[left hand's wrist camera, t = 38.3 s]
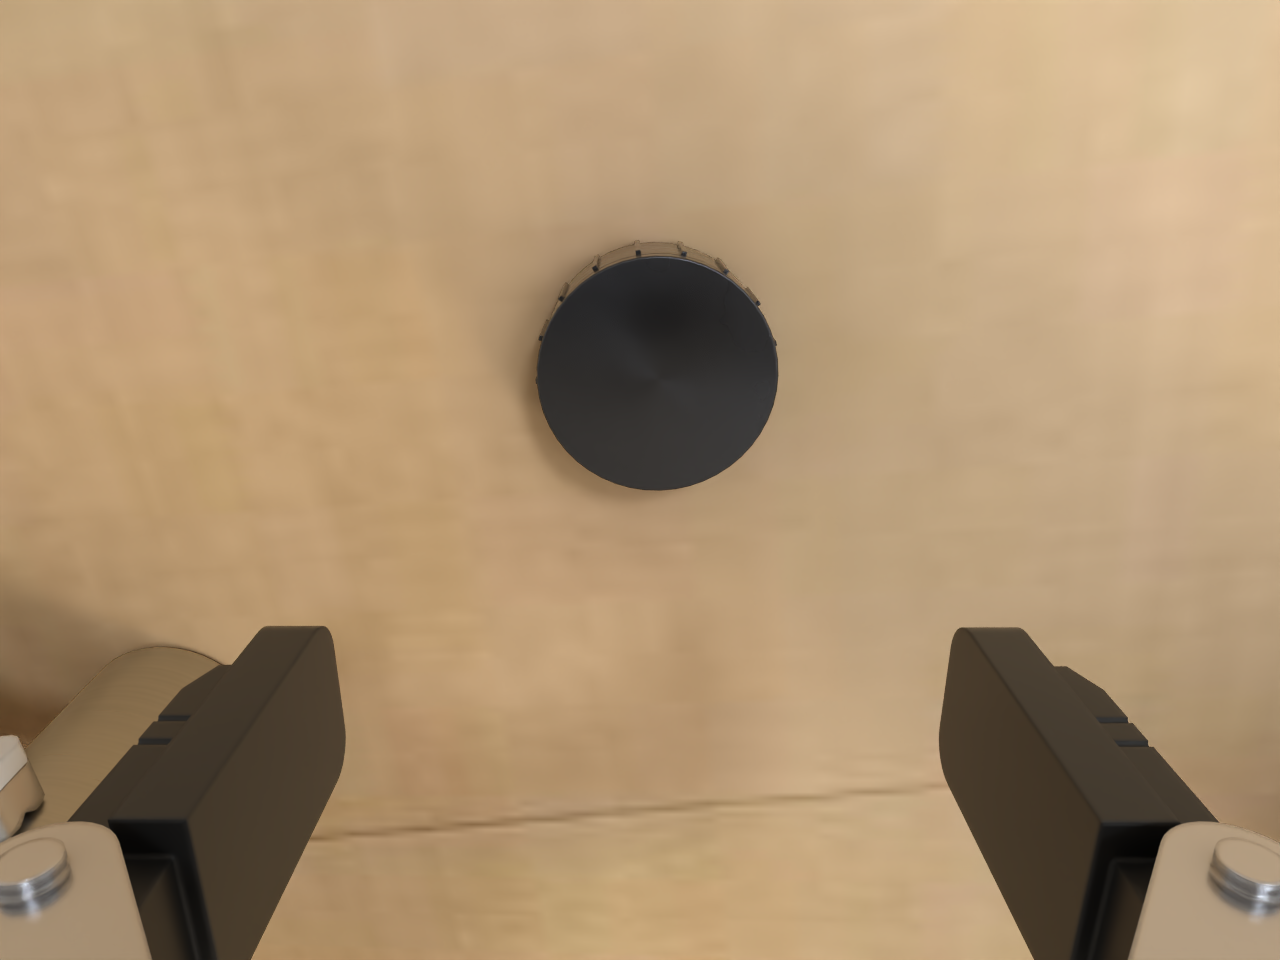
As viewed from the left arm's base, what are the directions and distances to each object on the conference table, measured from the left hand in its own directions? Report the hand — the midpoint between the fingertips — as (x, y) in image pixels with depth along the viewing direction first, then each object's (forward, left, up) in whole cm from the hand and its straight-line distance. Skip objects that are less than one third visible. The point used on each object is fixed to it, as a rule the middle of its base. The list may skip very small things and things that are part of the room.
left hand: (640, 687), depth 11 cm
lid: (+1, -1, -9) cm, 9 cm away
